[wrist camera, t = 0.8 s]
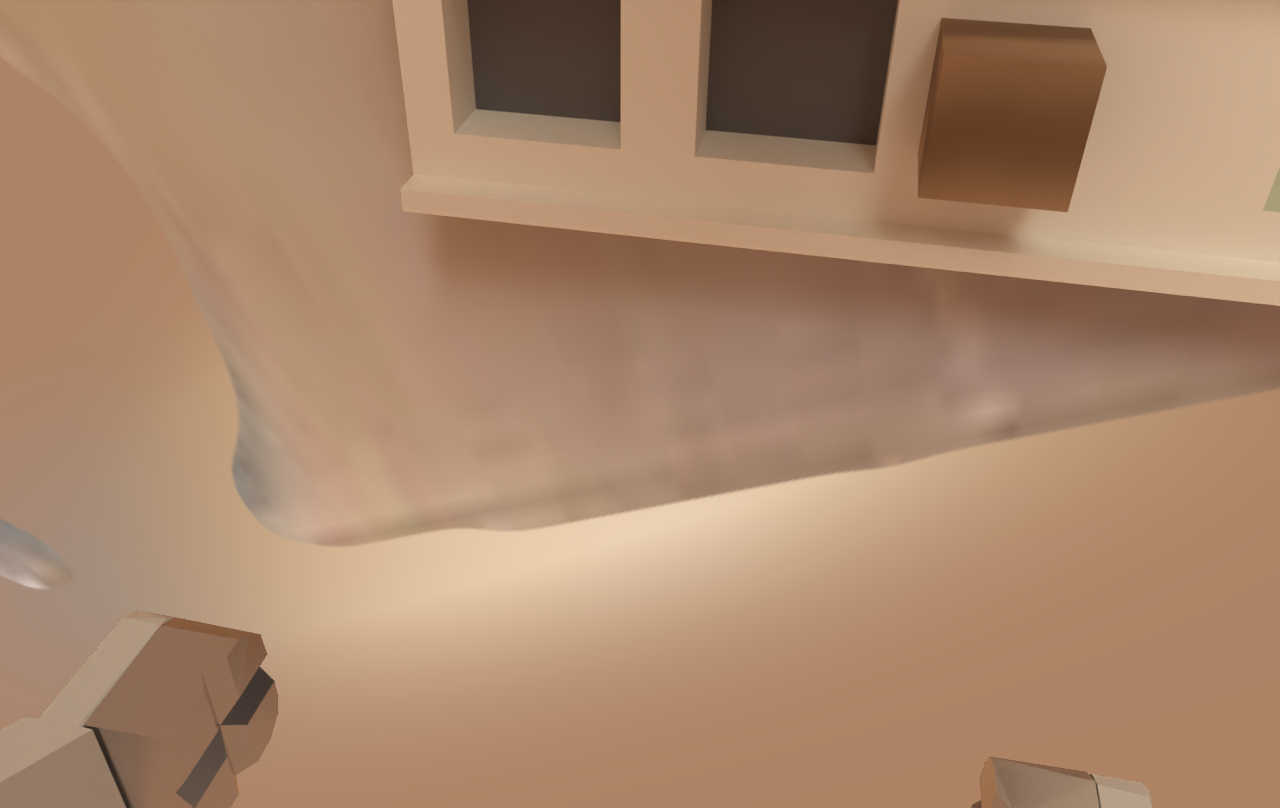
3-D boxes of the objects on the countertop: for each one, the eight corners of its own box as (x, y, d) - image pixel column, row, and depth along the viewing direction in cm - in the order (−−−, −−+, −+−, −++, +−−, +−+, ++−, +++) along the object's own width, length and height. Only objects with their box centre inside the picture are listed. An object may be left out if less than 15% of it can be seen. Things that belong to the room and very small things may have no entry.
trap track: (406, -153, 41) (333, -120, 36) (1582, -92, 35) (1698, -42, 29) (440, 167, 49) (383, 232, 43) (1406, 265, 42) (1475, 354, 37)
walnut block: (941, 17, 38) (943, 54, 34) (1090, 28, 37) (1107, 66, 34) (917, 152, 41) (917, 197, 37) (1055, 165, 40) (1067, 212, 37)
